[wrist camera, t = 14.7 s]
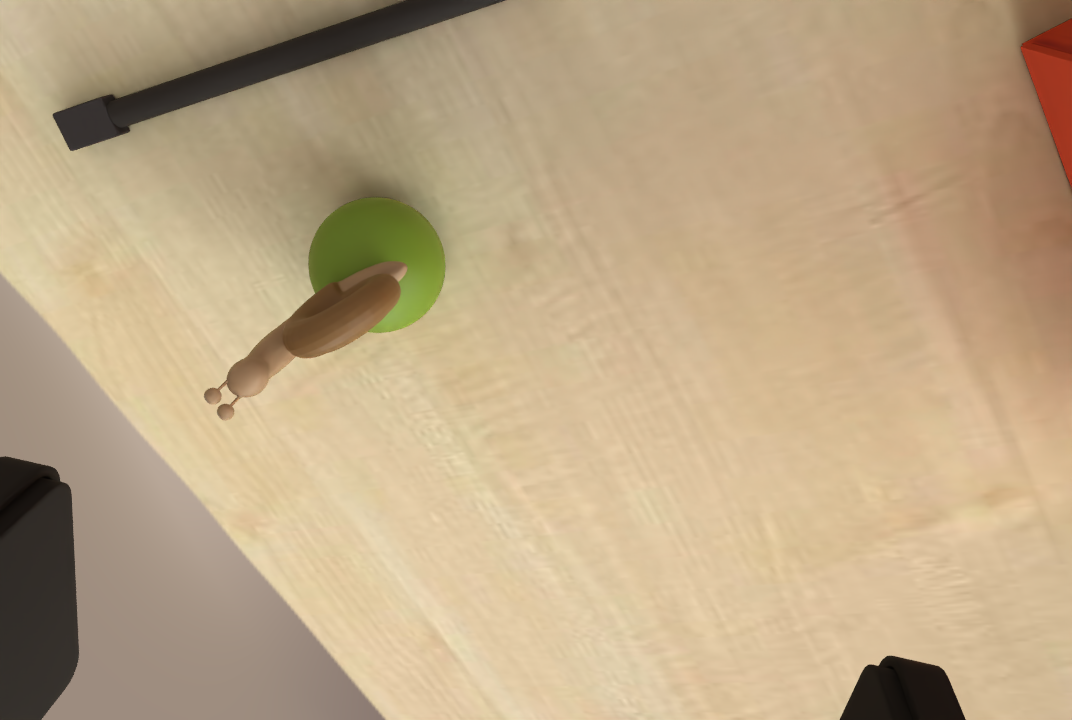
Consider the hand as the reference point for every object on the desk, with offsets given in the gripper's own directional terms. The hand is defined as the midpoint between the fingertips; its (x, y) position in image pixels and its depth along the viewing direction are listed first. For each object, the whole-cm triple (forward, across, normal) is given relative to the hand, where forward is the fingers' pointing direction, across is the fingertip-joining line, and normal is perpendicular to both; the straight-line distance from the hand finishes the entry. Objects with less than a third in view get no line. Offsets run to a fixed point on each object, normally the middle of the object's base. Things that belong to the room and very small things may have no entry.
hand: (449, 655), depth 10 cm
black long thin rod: (+28, +12, -1) cm, 31 cm away
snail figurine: (+28, +8, +6) cm, 30 cm away
